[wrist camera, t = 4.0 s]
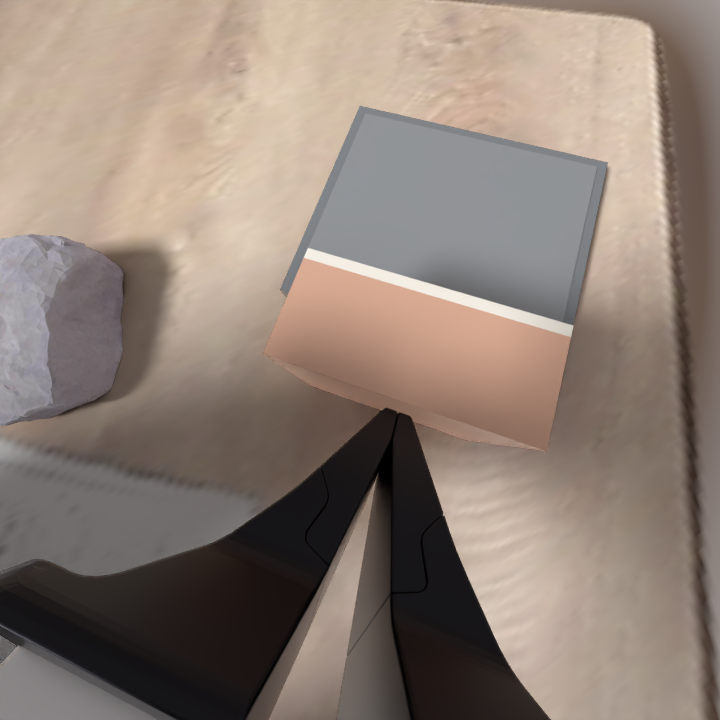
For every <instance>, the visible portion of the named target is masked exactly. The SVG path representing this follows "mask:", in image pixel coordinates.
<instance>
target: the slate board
mask: <svg viewBox="0 0 720 720" xmlns="http://www.w3.org/2000/svg"><path fill="white" fill-rule="evenodd" d="M607 164H608V163H607V162H603V161H599V160H594V159H590V158H586V157H581V156H577V155H572V154H568V153H564V152H559V151H555V150H551V149H546V148H542V147H537V146H533V145H529V144H524V143H520V142H516V141H511V140H507V139H503V138H498V137H494V136H489V135H485V134H481V133H476V132H472V131H468V130H463V129H459V128H454V127H450V126H446V125H441V124H437V123H433V122H428V121H424V120H420V119H415V118H411V117H406V116H402V115H398V114H393V113H389V112H385V111H380V110H376V109H372V108H367V107H363V106H360V107H359V109H358V112H357V114H356V116H355V119H354V121H353V123H352V125H351V128H350V130H349V132H348V135H347V137H346V139H345V142H344V144H343V146H342V148H341V151H340V153H339V155H338V158H337V160H336V162H335V165H334V167H333V169H332V172H331V174H330V176H329V178H328V181H327V183H326V185H325V188H324V190H323V192H322V195H321V197H320V199H319V201H318V204H317V206H316V208H315V211H314V213H313V215H312V218H311V220H310V222H309V224H308V227H307V229H306V231H305V234H304V236H303V238H302V241H301V243H300V245H299V248H298V250H297V252H296V254H295V257H294V259H293V261H292V264H291V266H290V268H289V271H288V273H287V275H286V277H285V280H284V282H283V284H282V287H281V289H280V290H281V291H282V293H283V294H284V296H288V293H289V291H290V289H291V286H292V284H293V282H294V279H295V277H296V275H297V272H298V270H299V268H300V265H301V263H302V261H303V258H304V256H305V254H306V251H307V249H308V248H310V249H314V250H317V251H320V252H324V253H327V254H331V255H334V256H337V257H341V258H344V259H348V260H351V261H355V262H358V263H361V264H365V265H368V266H372V267H375V268H378V269H382V270H385V271H389V272H392V273H396V274H399V275H402V276H406V277H409V278H413V279H416V280H419V281H423V282H426V283H430V284H433V285H437V286H440V287H443V288H447V289H450V290H454V291H457V292H460V293H464V294H467V295H471V296H474V297H478V298H481V299H484V300H488V301H491V302H495V303H498V304H501V305H505V306H508V307H512V308H515V309H519V310H522V311H525V312H529V313H532V314H536V315H539V316H542V317H546V318H549V319H553V320H556V321H560V322H563V323H566V324H570V325H573V324H574V320H575V315H576V310H577V306H578V301H579V296H580V291H581V287H582V282H583V277H584V273H585V268H586V263H587V258H588V254H589V249H590V244H591V240H592V235H593V230H594V226H595V221H596V216H597V211H598V207H599V202H600V197H601V193H602V188H603V183H604V178H605V174H606V169H607Z"/></svg>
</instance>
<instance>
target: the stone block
mask: <svg viewBox="0 0 720 720" xmlns="http://www.w3.org/2000/svg"><path fill="white" fill-rule="evenodd" d="M123 277H124V273H123V271H122V269H121V268H120V267H119V266H118V265H117V264H116V263H114V262H112V261H110V260H109V259H108V258H107V257H106V256H105V255H104V254H102V253H100V252H98V251H95V250H93V249H91V248H88V247H86V246H85V244H83V243H78V242H75V241H72V240H70V239H67V238H64V237H61V236H41V235H33V234H29V235H23V236H14V237H10V238H2V239H0V426H6V425H10V424H14V423H17V422H21V421H32V420H37V419H46V418H51V417H53V416H56V415H59V414H61V413H63V412H65V411H67V410H69V409H72V408H75V407H78V406H81V405H83V404H85V403H87V402H90V401H95V400H96V399H97V398H99V397H101V396H102V395H104V394H106V393H107V392H108V391H110V390H111V388H112V385H113V383H114V380H115V375H116V372H117V369H118V365H119V363H120V361H121V356H122V353H123V346H122V326H121V323H120V318H121V310H122V307H123V302H124V297H123V286H122V284H123Z"/></svg>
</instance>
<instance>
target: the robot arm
mask: <svg viewBox="0 0 720 720" xmlns="http://www.w3.org/2000/svg"><path fill="white" fill-rule="evenodd" d="M376 477H377V479H376ZM375 480H376V484H375V490H374V496H373V502H372V508H371V514H370V520H369V526H368V532H367V538H366V544H365V550H364V556H363V562H362V568H361V574H360V580H359V586H358V592H357V598H356V604H355V610H354V616H353V622H352V628H351V634H350V640H349V646H348V652H347V658H346V663H345V669H344V675H343V681H342V687H341V693H340V699H339V705H338V711H337V717H336V720H551V719H550V718H549V717H548V716H547V714H546V713H545V712H544V711H543V710H542V708H541V707H540V706H539V705H538V703H537V702H536V701H535V700H534V698H533V697H532V696H531V695H530V694H529V692H528V691H527V690H526V689H525V687H524V686H523V685H522V683H521V682H520V681H519V679H518V678H517V676H516V675H515V673H514V672H513V671H512V669H511V667H510V666H509V664H508V662H507V661H506V659H505V657H504V655H503V653H502V651H501V650H500V648H499V646H498V643H497V641H496V639H495V637H494V635H493V633H492V630H491V628H490V626H489V624H488V621H487V619H486V617H485V615H484V612H483V610H482V608H481V606H480V604H479V601H478V599H477V597H476V595H475V592H474V590H473V588H472V586H471V583H470V581H469V579H468V577H467V574H466V572H465V570H464V567H463V565H462V563H461V560H460V558H459V555H458V553H457V551H456V548H455V545H454V542H453V540H452V537H451V534H450V531H449V528H448V525H447V522H446V519H445V516H443V511H442V508H441V505H440V502H439V499H438V496H437V493H436V490H435V487H434V484H433V480H432V477H431V474H430V471H429V468H428V465H427V462H426V459H425V456H424V453H423V450H422V447H421V444H420V441H419V438H418V435H417V432H416V429H415V426H414V423H413V420H412V418H411V416H410V415H407V414H404V413H401V412H399V413H397V411H396V410H393V409H390V408H387V407H386V408H384V409H383V410H382V411H381V412H380V413H378V414H377V415H376V416H375V417H374V418H373V419H372V420H371V421H370V422H369V423H367V424H366V425H365V426H364V427H363V428H362V429H361V430H360V431H359V432H358V433H356V434H355V435H354V436H353V437H352V438H351V439H350V440H349V441H348V442H347V443H345V444H344V445H343V446H342V447H341V448H340V449H339V450H338V451H337V452H335V453H334V454H333V455H332V456H331V457H330V458H329V459H328V460H327V461H326V462H324V463H323V464H322V465H321V466H320V468H318V469H317V470H315V471H314V472H313V473H312V474H311V475H310V476H309V477H308V478H306V479H305V480H304V481H303V482H302V483H300V484H299V485H298V486H297V487H296V488H294V489H293V490H292V491H290V492H289V493H288V494H286V495H285V496H284V497H282V498H281V499H279V500H278V501H277V502H275V503H274V504H272V505H271V506H269V507H268V508H266V509H265V510H264V511H262V512H261V513H259V514H258V515H256V516H255V517H253V518H252V519H251V520H249V521H248V522H246V523H245V524H243V525H242V526H241V527H239V528H238V529H236V530H235V531H233V532H232V533H230V534H228V535H226V536H225V537H223V538H221V539H219V540H217V541H215V542H213V543H210V544H208V545H205V546H202V547H199V548H196V549H193V550H189V551H186V552H183V553H180V554H177V555H174V556H171V557H167V558H164V559H161V560H158V561H155V562H152V563H149V564H145V565H142V566H139V567H136V568H133V569H130V570H127V571H124V572H120V573H115V574H111V575H104V576H83V575H79V574H76V573H73V572H71V571H69V570H67V569H65V568H63V567H61V566H58V565H56V564H54V563H52V562H49V561H46V560H42V559H34V560H30V561H28V562H25V563H23V564H20V565H17V566H15V567H12V568H10V569H7V570H4V571H2V572H0V635H1V636H3V637H4V638H6V639H7V640H9V641H11V642H12V643H14V644H15V645H17V647H16V648H15V649H14V650H13V651H12V652H11V653H10V654H9V655H8V656H7V657H6V658H5V659H4V660H3V661H2V663H1V664H0V720H269V717H270V715H271V713H272V711H273V708H274V706H275V704H276V702H277V700H278V697H279V695H280V693H281V691H282V688H283V686H284V684H285V682H286V679H287V677H288V675H289V673H290V670H291V668H292V666H293V664H294V661H295V659H296V657H297V655H298V653H299V650H300V648H301V646H302V644H303V641H304V639H305V636H306V635H307V632H308V630H309V628H310V626H311V623H312V621H313V619H314V617H315V614H316V612H317V610H318V608H319V605H320V603H321V601H322V599H323V597H324V594H325V592H326V590H327V588H328V585H329V583H330V581H331V579H332V576H333V574H334V572H335V570H336V567H337V565H338V563H339V561H340V558H341V556H342V554H343V552H344V550H345V547H346V545H347V543H348V541H349V538H350V536H351V534H352V532H353V529H354V527H355V525H356V523H357V520H358V518H359V516H360V514H361V511H362V509H363V507H364V505H365V503H366V500H367V498H368V496H369V494H370V491H371V489H372V487H373V485H374V482H375Z"/></svg>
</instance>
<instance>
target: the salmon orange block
mask: <svg viewBox="0 0 720 720" xmlns="http://www.w3.org/2000/svg"><path fill="white" fill-rule="evenodd" d="M572 331H573V325H570V324H566V323H563V322H560V321H556V320H553V319H549V318H546V317H542V316H539V315H536V314H532V313H529V312H525V311H522V310H519V309H515V308H512V307H508V306H505V305H501V304H498V303H495V302H491V301H488V300H484V299H481V298H478V297H474V296H471V295H467V294H464V293H460V292H457V291H454V290H450V289H447V288H443V287H440V286H437V285H433V284H430V283H426V282H423V281H419V280H416V279H413V278H409V277H406V276H402V275H399V274H396V273H392V272H389V271H385V270H382V269H378V268H375V267H372V266H368V265H365V264H361V263H358V262H355V261H351V260H348V259H344V258H341V257H337V256H334V255H331V254H327V253H324V252H320V251H317V250H314V249H310V248H308V249H307V251H306V254H305V256H304V258H303V261H302V263H301V265H300V268H299V270H298V272H297V275H296V277H295V279H294V282H293V284H292V286H291V289H290V291H289V293H288V296H287V298H286V300H285V303H284V305H283V307H282V310H281V312H280V315H279V317H278V319H277V322H276V324H275V326H274V329H273V331H272V333H271V336H270V338H269V340H268V343H267V345H266V347H265V350H264V352H263V355H265V356H266V357H268V358H269V359H271V360H272V361H274V362H275V363H277V364H278V365H280V366H281V367H283V368H285V369H286V370H288V371H289V372H291V373H292V374H294V375H295V376H297V377H298V378H300V379H301V380H303V381H304V382H306V383H307V384H309V385H310V386H313V387H315V388H318V389H321V390H324V391H327V392H330V393H333V394H336V395H338V396H341V397H344V398H347V399H350V400H353V401H356V402H358V403H361V404H364V405H367V406H370V407H373V408H376V409H379V410H381V411H382V410H383V409H384V408H386V407H387V408H390V409H393V410H396V411H397V413H399V412H401V413H404V414H407V415H410V416H411V418H412V420H413V422H416V423H419V424H422V425H424V426H427V427H430V428H433V429H436V430H439V431H442V432H445V433H447V434H450V435H453V436H456V437H459V438H462V439H465V440H467V441H475V442H482V443H489V444H497V445H504V446H512V447H519V448H526V449H534V450H541V451H547V448H548V443H549V439H550V434H551V429H552V425H553V420H554V415H555V411H556V406H557V401H558V396H559V392H560V387H561V382H562V378H563V373H564V368H565V364H566V359H567V354H568V349H569V345H570V340H571V335H572Z"/></svg>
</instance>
